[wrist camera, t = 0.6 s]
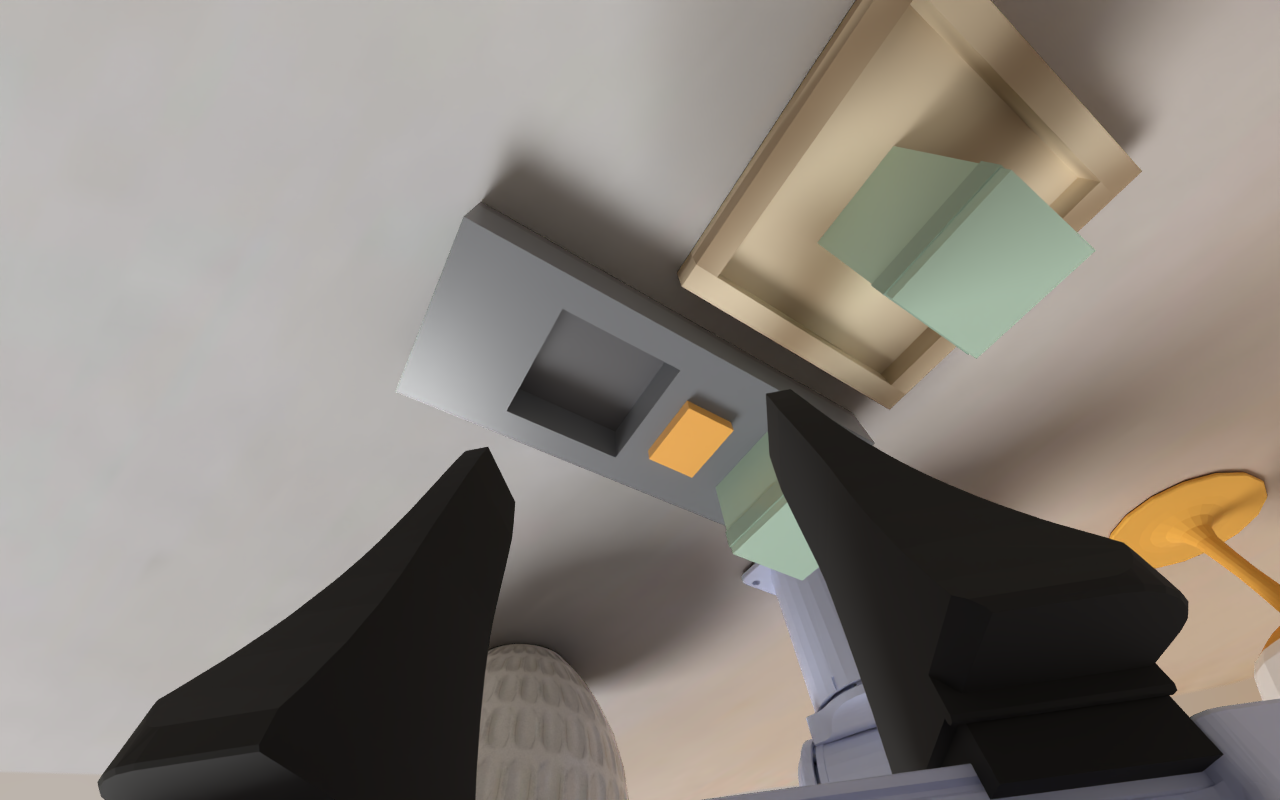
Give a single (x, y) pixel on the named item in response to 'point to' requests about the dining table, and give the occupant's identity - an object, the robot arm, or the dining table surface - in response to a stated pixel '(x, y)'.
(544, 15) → the dining table surface
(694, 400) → the gray fixture base
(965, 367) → the dining table surface
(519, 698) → the vase
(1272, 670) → the cup
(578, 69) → the dining table surface
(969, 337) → the plug
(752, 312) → the tray
